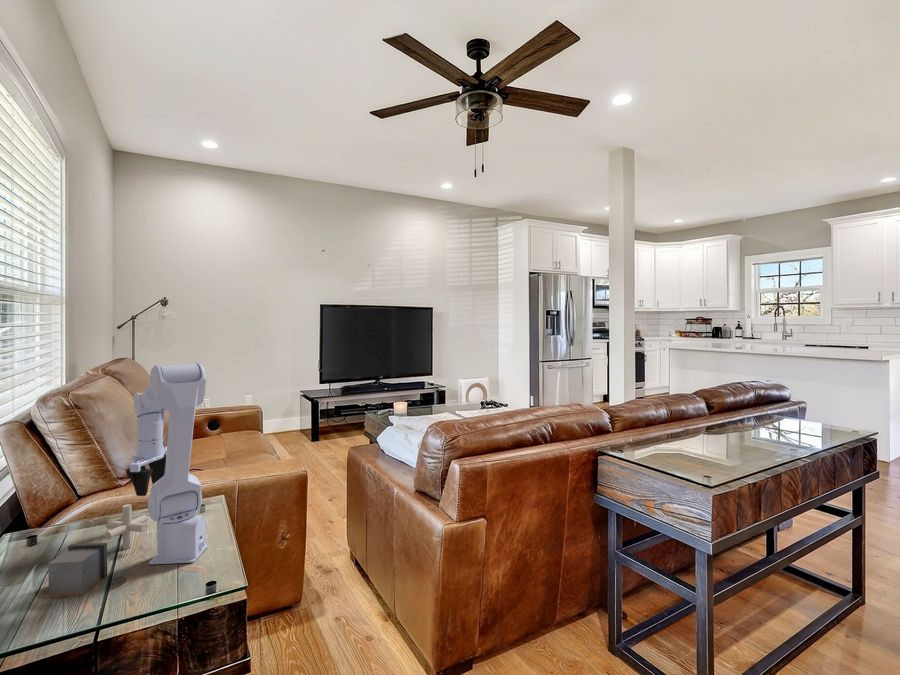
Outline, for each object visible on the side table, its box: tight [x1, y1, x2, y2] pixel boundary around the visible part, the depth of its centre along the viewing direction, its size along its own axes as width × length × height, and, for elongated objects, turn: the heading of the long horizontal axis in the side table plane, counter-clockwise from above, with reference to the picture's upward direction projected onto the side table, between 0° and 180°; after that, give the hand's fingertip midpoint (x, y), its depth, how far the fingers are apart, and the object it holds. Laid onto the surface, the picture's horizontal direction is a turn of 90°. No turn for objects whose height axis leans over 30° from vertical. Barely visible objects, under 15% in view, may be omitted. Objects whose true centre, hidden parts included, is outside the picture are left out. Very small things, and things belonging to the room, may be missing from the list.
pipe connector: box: [104, 504, 149, 550], centre depth 112 cm, size 10×10×10 cm
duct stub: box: [47, 542, 108, 598], centre depth 95 cm, size 7×7×7 cm
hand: (149, 489), depth 123 cm, fingers open, 7 cm apart
